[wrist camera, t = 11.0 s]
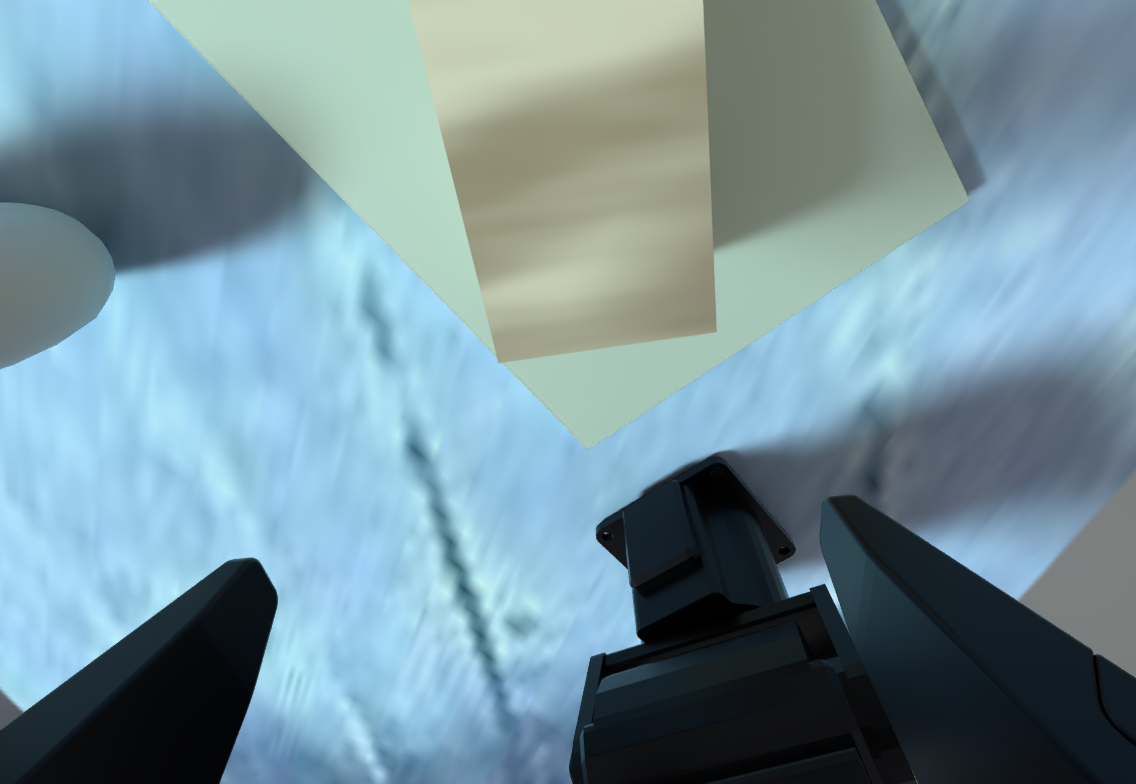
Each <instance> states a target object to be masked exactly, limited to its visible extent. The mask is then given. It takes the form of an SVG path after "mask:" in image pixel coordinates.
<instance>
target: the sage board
mask: <svg viewBox="0 0 1136 784" xmlns="http://www.w3.org/2000/svg"><path fill="white" fill-rule="evenodd" d="M148 1H149V2H150V3H151V4H152V5H153V6H154V7H155V8H156V9H157V10H158V11H159V12H160V13H161V14H162V15H163V16H164V17H165V18H166V19H167V20H168V21H169V22H170V23H171V24H172V25H173V26H174V27H175V28H176V29H177V30H178V31H179V32H180V33H181V34H182V35H183V37H184V38H185V39H186V40H187V41H188V42H189V43H190V44H191V45H192V46H193V47H194V48H195V49H196V50H197V51H198V52H199V53H200V54H201V55H202V56H203V57H204V58H205V59H206V60H207V61H208V62H209V63H210V64H211V65H212V66H213V67H214V68H215V69H216V70H217V71H218V72H219V73H220V74H221V75H222V76H223V77H224V78H225V79H226V81H227V82H228V83H229V84H230V85H231V86H232V87H233V88H234V89H235V90H236V91H237V92H238V93H239V94H240V95H241V96H242V97H243V98H244V99H245V100H246V101H247V102H248V103H249V104H250V105H251V106H252V107H253V108H254V109H255V110H256V111H257V112H258V113H259V114H260V115H261V116H262V117H263V118H264V119H265V120H266V121H267V122H268V123H269V125H270V126H271V127H272V128H273V129H274V130H275V131H276V132H277V133H278V134H279V135H280V136H281V137H282V138H283V139H284V140H285V141H286V142H287V143H288V144H289V145H290V146H291V147H292V148H293V149H294V150H295V151H296V152H297V153H298V154H299V155H300V156H301V157H302V158H303V159H304V160H305V161H306V162H307V163H308V164H309V165H310V166H311V168H312V169H313V170H314V171H315V172H316V173H317V174H318V175H319V176H320V177H321V178H322V179H323V180H324V181H325V182H326V183H327V184H328V185H329V186H330V187H331V188H332V189H333V190H334V191H335V192H336V193H337V194H338V195H339V196H340V197H341V198H342V199H343V200H344V201H345V202H346V203H347V204H348V205H349V206H350V207H351V208H352V209H353V210H354V212H355V213H356V214H357V215H358V216H359V217H360V218H361V219H362V220H363V221H364V222H365V223H366V224H367V225H368V226H369V227H370V228H371V229H372V230H373V231H374V232H375V233H376V234H377V235H378V236H379V237H380V238H381V239H382V240H383V241H384V242H385V243H386V244H387V245H388V246H389V247H390V248H391V249H392V250H393V251H394V252H395V253H396V254H397V256H398V257H399V258H400V259H401V260H402V261H403V262H404V263H405V264H406V265H407V266H408V267H409V268H410V269H411V270H412V271H413V272H414V273H415V274H416V275H417V276H418V277H419V278H420V279H421V280H422V281H423V282H424V283H425V284H426V285H427V286H428V287H429V288H430V289H431V290H432V291H433V292H434V293H435V294H436V295H437V296H438V297H439V298H440V300H441V301H442V302H443V303H444V304H445V305H446V306H447V307H448V308H449V309H450V310H451V311H452V312H453V313H454V314H455V315H456V316H457V317H458V318H459V319H460V320H461V321H462V322H463V323H464V324H465V325H466V326H467V327H468V328H469V329H470V330H471V331H472V332H473V333H474V334H475V335H476V336H477V337H478V338H479V339H480V340H481V341H482V343H483V344H484V345H485V346H486V347H487V348H488V349H489V350H490V351H491V352H492V353H493V354H494V355H495V356H496V357H497V355H496V351H495V347H494V343H493V339H492V335H491V331H490V327H489V323H488V319H487V315H486V311H485V307H484V303H483V299H482V295H481V291H480V287H479V283H478V279H477V275H476V271H475V267H474V263H473V259H472V255H471V251H470V247H469V243H468V239H467V235H466V231H465V227H464V223H463V219H462V215H461V211H460V207H459V203H458V198H457V194H456V190H455V186H454V182H453V178H452V174H451V170H450V166H449V162H448V158H447V154H446V150H445V146H444V142H443V138H442V134H441V130H440V126H439V122H438V118H437V114H436V110H435V106H434V102H433V98H432V94H431V90H430V86H429V82H428V78H427V74H426V70H425V66H424V62H423V58H422V54H421V50H420V46H419V42H418V38H417V34H416V30H415V26H414V22H413V18H412V14H411V10H410V6H409V2H408V0H148ZM703 11H704V35H705V59H706V83H707V108H708V132H709V156H710V180H711V204H712V228H713V252H714V276H715V300H716V324H717V332H715V333H708V334H701V335H694V336H687V337H680V338H673V339H666V340H659V341H652V342H645V343H637V344H630V345H623V346H616V347H609V348H602V349H595V350H588V351H581V352H574V353H567V354H560V355H553V356H546V357H539V358H532V359H525V360H517V361H510V362H503V364H504V365H505V366H506V367H507V368H508V369H509V370H510V371H511V372H512V373H513V374H514V375H515V376H516V377H517V378H518V379H519V380H520V381H521V382H522V383H523V384H524V385H525V387H526V388H527V389H528V390H529V391H530V392H531V393H532V394H533V395H534V396H535V397H536V398H537V399H538V400H539V401H540V402H541V403H542V404H543V405H544V406H545V407H546V408H547V409H548V410H549V411H550V412H551V413H552V414H553V415H554V416H555V417H556V418H557V419H558V420H559V421H560V422H561V423H562V424H563V425H564V426H565V427H566V428H567V429H568V431H569V432H570V433H571V434H572V435H573V436H574V437H575V438H576V439H577V440H578V441H579V442H580V443H581V444H582V445H583V446H584V447H585V448H586V449H587V450H588V449H590V448H591V447H593V446H594V445H596V444H597V443H599V442H600V441H602V440H604V439H605V438H607V437H608V436H610V435H611V434H613V433H614V432H616V431H617V430H619V429H620V428H622V427H623V426H625V425H627V424H628V423H630V422H631V421H633V420H634V419H636V418H637V417H639V416H640V415H642V414H643V413H645V412H646V411H648V410H650V409H651V408H653V407H654V406H656V405H657V404H659V403H660V402H662V401H663V400H665V399H666V398H668V397H669V396H671V395H673V394H674V393H676V392H677V391H679V390H680V389H682V388H683V387H685V386H686V385H688V384H689V383H691V382H692V381H694V380H696V379H697V378H699V377H700V376H702V375H703V374H705V373H706V372H708V371H709V370H711V369H712V368H714V367H715V366H717V365H719V364H720V363H722V362H723V361H725V360H726V359H728V358H729V357H731V356H732V355H734V354H735V353H737V352H738V351H740V350H742V349H743V348H745V347H746V346H748V345H749V344H751V343H752V342H754V341H755V340H757V339H758V338H760V337H761V336H763V335H765V334H766V333H768V332H769V331H771V330H772V329H774V328H775V327H777V326H778V325H780V324H781V323H783V322H784V321H786V320H788V319H789V318H791V317H792V316H794V315H795V314H797V313H798V312H800V311H801V310H803V309H804V308H806V307H807V306H809V305H811V304H812V303H814V302H815V301H817V300H818V299H820V298H821V297H823V296H824V295H826V294H827V293H829V292H830V291H832V290H834V289H835V288H837V287H838V286H840V285H841V284H843V283H844V282H846V281H847V280H849V279H850V278H852V277H853V276H855V275H857V274H858V273H860V272H861V271H863V270H864V269H866V268H867V267H869V266H870V265H872V264H873V263H875V262H876V261H878V260H880V259H881V258H883V257H884V256H886V255H887V254H889V253H890V252H892V251H893V250H895V249H896V248H898V247H899V246H901V245H903V244H904V243H906V242H907V241H909V240H910V239H912V238H913V237H915V236H916V235H918V234H919V233H921V232H922V231H924V230H926V229H927V228H929V227H930V226H932V225H933V224H935V223H936V222H938V221H939V220H941V219H942V218H944V217H945V216H947V215H949V214H950V213H952V212H953V211H955V210H956V209H958V208H959V207H961V206H962V205H964V204H965V203H967V202H968V201H970V199H969V197H968V195H967V193H966V191H965V189H964V187H963V184H962V182H961V180H960V178H959V176H958V174H957V172H956V170H955V167H954V165H953V163H952V161H951V159H950V157H949V155H948V153H947V150H946V148H945V146H944V144H943V142H942V140H941V138H940V136H939V134H938V131H937V129H936V127H935V125H934V123H933V121H932V119H931V117H930V114H929V112H928V110H927V108H926V106H925V104H924V102H923V100H922V97H921V95H920V93H919V91H918V89H917V87H916V85H915V83H914V80H913V78H912V76H911V74H910V72H909V70H908V68H907V66H906V63H905V61H904V59H903V57H902V55H901V53H900V51H899V49H898V47H897V44H896V42H895V40H894V38H893V36H892V34H891V32H890V30H889V27H888V25H887V23H886V21H885V19H884V17H883V15H882V13H881V10H880V8H879V6H878V4H877V2H876V0H703Z"/></svg>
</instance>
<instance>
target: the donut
mask: <svg viewBox="0 0 1136 784" xmlns="http://www.w3.org/2000/svg"><path fill="white" fill-rule="evenodd" d="M115 275H116V273H115V269H114V264H113V260H112V256H111V255H110V253H109V252H108V250H107V248H106V247H105V245H104V244H103V242H102V241H101V240H100V239H99V238H98V237H97V236H96V235H94V234H93V233H92V232H91V231H90V230H89V229H88V228H86V227H85V226H84V225H83V224H82V223H80V222H79V221H78V220H76V219H74V218H72V217H70V216H68V215H66V214H64V213H62V212H60V211H58V210H55V209H51V208H46V207H42V206H37V205H31V204H23V203H15V202H12V203H0V369H2V368H5V367H8V366H11V365H14V364H16V363H18V362H20V361H22V360H25V359H27V358H29V357H31V356H33V355H35V354H38V353H40V352H42V351H44V350H46V349H48V348H50V347H53V346H55V345H57V344H58V343H60V342H61V341H63V340H64V339H66V338H67V337H69V336H70V335H72V334H73V333H75V332H76V331H78V330H79V329H80V328H82V327H83V326H85V325H86V324H88V323H89V322H91V321H92V320H94V319H95V318H96V317H97V315H98V314H99V312H100V311H101V309H102V308H103V306H104V305H105V303H106V301H107V299H108V298H109V296H110V294H111V292H112V290H113V286H114V280H115Z"/></svg>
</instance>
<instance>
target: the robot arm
mask: <svg viewBox="0 0 1136 784" xmlns="http://www.w3.org/2000/svg"><path fill="white" fill-rule="evenodd" d="M714 468H720V469H719V470H718V471H716V472H712V471H711V470H712V469H714ZM605 532H610V534H604V533H605ZM596 539H597V540H598V542H599V543H600V544H601V545H602V546H603V547H605V548H606V549H607V550H608V551H609V552H610V553H611V554H612V555H613V556H614V557H615V558H616V559H617V560H618V561H619V562H621V563H622V564H623V565H624V566H625V567H626V568H627V569H628V575H629V584H630V586H631V587H632V594H633V604H634V614H635V623H636V633H637V636H638V638H640V639H641V644H640V645H636V646H633V647H630V648H627V649H623V650H620V651H617V652H614V653H611V654H606V653H601V654H598V655H595V656H592V657H591V658H590V662H589V667H588V672H587V677H586V682H585V687H584V691H583V696H582V701H581V706H580V711H579V716H578V721H577V726H576V730H575V735H574V740H573V748H572V753H571V759H570V764H569V771H570V776H571V780H572V783H573V784H917V782H918V784H1136V678H1135V677H1134V676H1132V675H1130V674H1129V673H1127V672H1126V671H1124V670H1123V669H1121V668H1120V667H1118V666H1117V665H1115V664H1114V663H1112V662H1111V661H1109V660H1108V659H1106V658H1104V657H1103V656H1102V655H1098V654H1096V655H1094V654H1093V651H1092V650H1091V649H1090V648H1089V647H1087V646H1086V645H1084V644H1083V643H1081V642H1080V641H1078V640H1077V639H1075V638H1073V637H1072V636H1071V635H1069V634H1067V633H1066V632H1064V631H1063V630H1061V629H1060V628H1058V627H1056V626H1055V625H1054V624H1052V623H1051V622H1049V621H1048V620H1046V619H1044V618H1043V617H1041V616H1040V615H1038V614H1037V613H1035V612H1034V611H1032V610H1031V609H1029V608H1028V607H1026V606H1025V605H1023V604H1022V603H1020V602H1019V601H1017V600H1015V599H1014V598H1012V597H1011V596H1009V595H1008V594H1006V593H1005V592H1003V591H1002V590H1000V589H999V588H997V587H996V586H994V585H993V584H991V583H990V582H988V581H986V580H985V579H983V578H982V577H980V576H979V575H977V574H976V573H974V572H973V571H971V570H970V569H968V568H967V567H965V566H964V565H962V564H960V563H959V562H957V561H956V560H954V559H953V558H951V557H950V556H948V555H947V554H945V553H944V552H942V551H941V550H939V549H938V548H936V547H934V546H933V545H931V544H930V543H928V542H927V541H925V540H924V539H922V538H921V537H919V536H918V535H916V534H915V533H913V532H912V531H910V530H908V529H907V528H905V527H904V526H902V525H901V524H899V523H898V522H896V521H895V520H893V519H892V518H890V517H889V516H887V515H886V514H884V513H882V512H881V511H879V510H878V509H876V508H875V507H873V506H872V505H870V504H869V503H867V502H866V501H864V500H863V499H861V498H860V497H858V496H856V495H854V494H840V495H830V496H827V497H825V498H824V500H823V503H822V514H821V527H820V544H821V549H822V553H823V556H824V559H825V562H826V565H827V568H828V571H829V574H830V577H831V580H832V583H833V585H834V588H835V591H836V594H837V597H838V600H839V603H840V606H841V609H842V612H843V615H844V618H845V621H846V624H847V627H848V630H849V632H848V630H847V628H846V626H845V624H844V622H843V620H842V618H841V616H840V614H839V612H838V610H837V608H836V606H835V604H834V602H833V599H832V597H831V595H830V593H829V591H828V589H827V587H826V585H825V584H822V585H819V586H816V587H813V588H810V592H807V593H804V594H800V595H797V596H794V597H791V598H789V596H788V593H787V591H786V588H785V586H784V583H783V581H782V578H781V575H780V573H779V570H778V568H777V565H776V564H778V563H780V562H782V561H784V560H786V559H788V558H790V557H791V556H792V555H794V553H795V551H796V548H795V546H794V543H793V541H792V539H791V538H790V537H789V535H788V534H787V533H786V532H785V531H784V530H783V528H782V527H781V526H780V525H779V524H778V522H777V521H776V520H775V519H774V518H773V517H772V515H771V514H770V513H769V512H768V511H767V509H766V508H765V507H764V506H763V505H762V504H761V502H760V501H759V500H758V499H757V498H756V496H755V495H754V494H753V493H752V492H751V491H750V489H749V488H748V487H747V486H746V485H745V483H744V482H743V481H742V480H741V479H740V478H739V476H738V475H737V474H736V473H735V472H734V470H733V469H732V468H731V467H730V466H729V465H728V463H727V462H726V461H725V460H724V459H722V458H720V457H712V458H709V459H707V460H705V461H704V462H702V463H700V464H699V465H697V466H695V467H694V468H692V469H690V470H689V471H687V472H685V473H684V474H682V475H680V476H679V477H677V478H675V479H673V480H672V481H669V482H668V483H666V484H664V485H663V486H661V487H659V488H658V489H656V490H654V491H652V492H651V493H649V494H647V495H646V496H644V497H642V498H641V499H639V500H637V501H636V502H634V503H632V504H631V505H629V506H627V507H626V508H624V509H623V510H621V511H620V512H618V513H616V514H615V515H613V516H611V517H610V518H608V519H606V520H605V521H603V522H601V523H600V524H599V525H598V526H597V527H596ZM781 547H784V548H781ZM277 605H278V596H277V592H276V589H275V587H274V586H273V584H272V582H271V580H270V579H269V577H268V575H267V573H266V572H265V570H264V568H263V566H262V565H261V563H260V562H259V561H258V560H257V559H255V558H241V559H233V560H229V561H227V562H226V563H224V564H223V565H221V566H220V567H219V568H217V569H216V570H215V571H213V572H212V573H211V574H209V575H208V576H207V577H205V578H204V579H203V580H201V581H200V582H199V583H197V584H196V585H195V586H193V587H192V588H191V589H189V590H188V591H186V592H185V593H184V594H182V595H181V596H180V597H178V598H177V599H176V600H174V601H173V602H172V603H170V604H169V605H168V606H166V607H165V608H164V609H162V610H161V611H160V612H158V613H157V614H156V615H154V616H153V617H152V618H150V619H149V620H147V621H146V622H145V623H143V624H142V625H141V626H139V627H138V628H137V629H135V630H134V631H133V632H131V633H130V634H129V635H127V636H126V637H125V638H123V639H122V640H121V641H119V642H118V643H117V644H115V645H114V646H113V647H111V648H110V649H108V650H107V651H106V652H104V653H103V654H102V655H100V656H99V657H98V658H96V659H95V660H94V661H92V662H91V663H90V664H88V665H87V666H86V667H84V668H83V669H82V670H80V671H79V672H78V673H76V674H75V675H74V676H72V677H71V678H70V679H68V680H67V681H65V682H64V683H63V684H61V685H60V686H59V687H57V688H56V689H55V690H53V691H52V692H51V693H49V694H48V695H47V696H45V697H44V698H43V699H41V700H40V701H39V702H37V703H36V704H35V705H33V706H32V707H31V708H29V709H28V710H26V711H25V712H24V713H22V714H21V715H20V716H18V717H17V718H16V719H14V720H13V721H12V722H10V723H9V724H8V725H6V726H5V727H4V728H2V729H1V730H0V784H219V783H220V781H221V778H222V775H223V773H224V770H225V768H226V765H227V762H228V760H229V757H230V755H231V752H232V749H233V747H234V744H235V741H236V739H237V736H238V734H239V731H240V728H241V726H242V723H243V721H244V718H245V715H246V713H247V710H248V707H249V704H250V701H251V699H252V695H253V692H254V689H255V686H256V682H257V679H258V675H259V672H260V668H261V664H262V661H263V657H264V653H265V650H266V646H267V642H268V639H269V635H270V632H271V628H272V624H273V621H274V617H275V613H276V610H277ZM849 633H850V635H851V637H850V635H849ZM851 638H852V639H851ZM911 769H912V770H911ZM912 771H913V772H912ZM913 773H914V774H913ZM914 775H915V777H914ZM915 778H916V779H915ZM916 780H917V782H916Z"/></svg>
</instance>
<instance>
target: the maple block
mask: <svg viewBox="0 0 1136 784" xmlns="http://www.w3.org/2000/svg"><path fill="white" fill-rule="evenodd" d="M408 2H409V6H410V10H411V14H412V18H413V22H414V26H415V30H416V34H417V38H418V42H419V46H420V50H421V54H422V58H423V62H424V66H425V70H426V74H427V78H428V82H429V86H430V90H431V94H432V98H433V102H434V106H435V110H436V114H437V118H438V122H439V126H440V130H441V134H442V138H443V142H444V146H445V150H446V154H447V158H448V162H449V166H450V170H451V174H452V178H453V182H454V186H455V190H456V194H457V198H458V203H459V207H460V211H461V215H462V219H463V223H464V227H465V231H466V235H467V239H468V243H469V247H470V251H471V255H472V259H473V263H474V267H475V271H476V275H477V279H478V283H479V287H480V291H481V295H482V299H483V303H484V307H485V311H486V315H487V319H488V323H489V327H490V331H491V335H492V339H493V343H494V347H495V351H496V355H497V359H498V363H503V362H510V361H517V360H525V359H532V358H539V357H546V356H553V355H560V354H567V353H574V352H581V351H588V350H595V349H602V348H609V347H616V346H623V345H630V344H637V343H645V342H652V341H659V340H666V339H673V338H680V337H687V336H694V335H701V334H708V333H715V332H717V324H716V300H715V276H714V252H713V228H712V204H711V180H710V156H709V132H708V108H707V83H706V59H705V35H704V11H703V0H408Z"/></svg>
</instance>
